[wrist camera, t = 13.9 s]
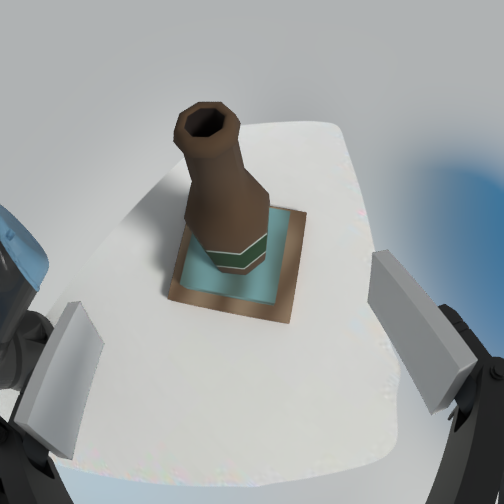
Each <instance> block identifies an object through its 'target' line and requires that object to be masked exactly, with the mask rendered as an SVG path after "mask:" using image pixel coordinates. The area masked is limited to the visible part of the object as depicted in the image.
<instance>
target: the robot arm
mask: <svg viewBox="0 0 504 504" xmlns="http://www.w3.org/2000/svg"><path fill="white" fill-rule="evenodd" d="M48 268H49V261H48V258H47V255H46V253H45V252H44V250H43V248H42V247H41V246H40V244H39V243H38V242H37V241H36V239H35V238H34V237H33V236H32V235H31V234H30V232H29V231H28V230H27V229H26V228H25V227H24V226H23V225H22V224H21V223H20V222H19V221H18V220H17V219H16V218H15V217H14V216H13V215H12V214H11V213H10V212H9V211H8V210H7V209H6V208H4V207H3V206H2V205H0V390H1V389H9V388H11V389H14V390H17V391H20V395H19V396H18V398H17V401H16V403H15V406H14V408H13V411H12V414H11V416H10V419H9V421H8V423H7V422H6V421H5V420H4V419H3V418H2V417H1V416H0V504H74V503H73V501H72V500H71V498H70V496H69V494H68V492H67V490H66V488H65V486H64V484H63V482H62V480H61V478H60V476H59V473H58V471H57V469H56V467H55V465H54V462H53V460H52V459H51V457H49V456H48V454H49V451H51V452H52V453H53V454H55V455H56V456H57V457H60V458H65V459H70V460H72V459H73V454H74V449H75V445H76V440H77V436H78V432H79V428H80V424H81V420H82V416H83V412H84V408H85V405H86V401H87V397H88V394H89V391H90V387H91V384H92V380H93V377H94V374H95V371H96V368H97V364H98V361H99V358H100V355H101V352H102V349H103V346H104V344H105V343H104V342H103V340H102V338H101V337H100V335H99V333H98V332H97V330H96V328H95V327H94V325H93V323H92V321H91V320H90V318H89V316H88V314H87V313H86V311H85V309H84V307H83V305H82V303H81V301H79V302H71V303H68V304H67V306H66V308H65V309H64V311H63V313H62V315H61V317H60V319H59V320H58V322H57V324H56V326H55V328H53V326H52V324H51V323H50V322H49V321H48V319H47V318H45V317H44V316H43V315H42V314H40V313H38V312H34V311H29V310H27V309H28V307H29V306H30V304H31V302H32V300H33V299H34V297H35V295H36V293H37V292H38V291H39V289H40V284H41V283H42V281H43V279H44V277H45V275H46V273H47V271H48ZM368 304H369V305H370V307H371V308H372V310H373V312H374V313H375V315H376V317H377V318H378V320H379V322H380V323H381V325H382V327H383V328H384V330H385V332H386V333H387V335H388V337H389V338H390V340H391V342H392V344H393V345H394V347H395V349H396V351H397V352H398V354H399V356H400V358H401V359H402V361H403V363H404V364H405V366H406V368H407V370H408V372H409V374H410V376H411V377H412V379H413V381H414V383H415V385H416V387H417V389H418V390H419V392H420V394H421V396H422V398H423V400H424V402H425V404H426V406H427V408H428V410H429V412H430V413H431V415H433V414H435V413H437V412H440V411H441V410H444V409H446V408H448V407H449V405H450V404H451V402H452V401H453V399H455V401H456V403H457V406H456V407H455V409H454V410H453V411H452V413H451V414H450V415H449V418H448V420H450V419H451V418H452V417H453V421H452V425H451V429H450V433H449V437H448V440H447V444H446V448H445V451H444V454H443V458H442V461H441V463H440V467H439V469H438V472H437V475H436V478H435V481H434V483H433V486H432V489H431V491H430V494H429V496H428V499H427V501H426V503H425V504H495V502H496V499H497V495H498V491H499V497H498V504H504V359H503V358H501V357H492V356H491V355H490V354H489V353H488V351H487V350H486V348H485V347H484V346H483V345H482V343H481V342H480V341H479V339H478V338H477V337H476V335H475V334H474V333H473V332H472V330H471V329H469V327H468V325H467V324H466V323H465V322H463V319H462V318H461V317H460V316H459V314H458V313H457V312H456V311H455V310H453V309H452V308H451V307H449V306H447V305H446V304H443V305H441V306H437V305H436V304H435V303H434V302H433V301H432V299H431V298H430V297H429V296H428V295H427V293H425V291H424V290H423V289H422V287H421V286H420V285H419V284H418V283H417V282H416V281H415V279H414V278H413V277H412V276H411V275H410V274H409V272H408V271H407V270H406V269H405V268H404V267H403V266H402V265H401V264H400V262H399V261H398V260H397V259H396V258H395V257H394V256H393V255H392V254H391V253H390V252H389V250H383V251H378V252H373V253H372V265H371V276H370V285H369V294H368Z"/></svg>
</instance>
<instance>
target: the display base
mask: <svg viewBox="0 0 504 504" xmlns="http://www.w3.org/2000/svg"><path fill="white" fill-rule="evenodd" d="M306 215H307V213H306V212H301V211H295V210H290V209H284V208H278V207H272V206H270V207H269V223H268V237H267V247H266V257H265V260H264V261H263V262H262V263H261V264H259V265H258V266H257V267H256V268H254V269H253V270H252V271H251V272H249V273H248V274H247V275H238V274H229V273H222V272H221V271H220V270H219V269H218V268H217V266H216V265H215V264H214V263H213V261H212V260H211V259H210V257H209V256H208V255H207V254H206V252H205V251H204V250H203V248H202V247H201V245H200V244H199V242H198V241H197V239H196V238H195V236H194V235H193V233H192V232H191V230H190V229H189V227H188V226H187V224H186V225H185V229H184V233H183V237H182V240H181V244H180V248H179V252H178V256H177V260H176V264H175V268H174V273H173V277H172V281H171V285H170V290H169V294H168V299H169V300H172V301H176V302H181V303H185V304H189V305H194V306H198V307H203V308H208V309H213V310H217V311H222V312H227V313H232V314H237V315H242V316H248V317H253V318H258V319H264V320H269V321H275V322H281V323H287V324H289V323H290V317H291V312H292V306H293V300H294V294H295V288H296V282H297V276H298V270H299V263H300V257H301V250H302V243H303V237H304V229H305V222H306Z"/></svg>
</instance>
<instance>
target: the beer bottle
mask: <svg viewBox="0 0 504 504" xmlns="http://www.w3.org/2000/svg"><path fill="white" fill-rule="evenodd" d="M240 124H241V123H240V121H239V119H238V118H237V116H236V115H235V114H234V113H233V112H232V111H231V110H230V109H229V108H228V107H226V106H225V105H224V104H223V103H222V102H198V103H196V104H194V105H193V106H191V107H190V108H188V109H186V110H184V111H183V112H181V113H180V114H179V117H178V120H177V123H176V126H175V129H174V140H173V142H174V143H175V144H176V145H177V146H178V148H179V149H180V150H181V151H182V152H183V153H184V157H185V160H186V164H187V167H188V170H189V174H190V177H191V180H192V183H191V187H190V192H189V196H188V201H187V206H186V211H185V216H184V219H185V221H186V224H187V226H188V227H189V229H190V230H191V232H192V233H193V235H194V236H195V238H196V239H197V241H198V242H199V244H200V245H201V247H202V248H203V250H204V251H205V252H206V254H207V255H208V256H209V257H210V259H211V260H212V261H213V263H214V264H215V265H216V266H217V268H218V269H219V270H220V271H221V272H222V273H229V274H238V275H247V274H248V273H249V272H251V271H252V270H253V269H254V268H256V267H257V266H258V265H259V264H261V263H262V262H263V261H264V260H265V257H266V247H267V237H268V223H269V207H270V200H269V193H268V192H267V191H266V190H265V189H264V188H263V187H262V186H261V185H260V184H259V183H258V182H257V181H256V180H255V178H254V177H253V176H252V175H251V174H250V173H249V172H248V171H247V170H246V169H245V168H244V164H243V160H242V156H241V151H240V147H239V142H238V135H239V129H240Z"/></svg>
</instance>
